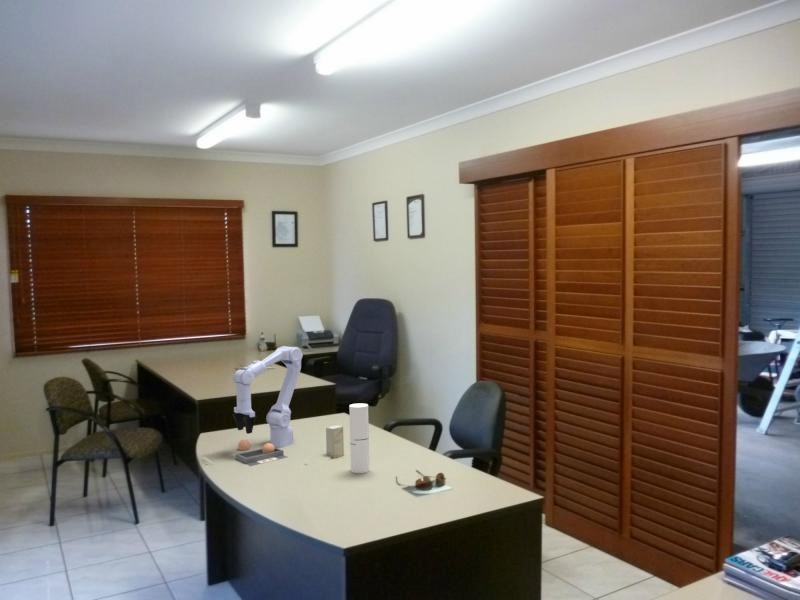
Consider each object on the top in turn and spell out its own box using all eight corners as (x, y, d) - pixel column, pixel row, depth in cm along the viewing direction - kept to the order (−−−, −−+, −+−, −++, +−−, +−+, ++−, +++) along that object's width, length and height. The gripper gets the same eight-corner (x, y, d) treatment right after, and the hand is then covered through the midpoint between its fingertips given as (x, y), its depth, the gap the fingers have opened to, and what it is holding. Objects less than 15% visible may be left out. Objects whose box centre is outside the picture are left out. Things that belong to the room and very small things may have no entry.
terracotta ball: (246, 449, 275) (246, 437, 275) (252, 451, 272) (252, 439, 271) (236, 451, 272) (235, 439, 272) (241, 453, 268) (241, 442, 268)
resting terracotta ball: (271, 452, 266) (270, 440, 265) (277, 455, 262) (276, 443, 262) (260, 455, 262) (259, 443, 262) (266, 457, 259) (265, 445, 258)
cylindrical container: (366, 473, 239) (365, 407, 238) (348, 472, 241) (347, 407, 240) (371, 467, 246) (370, 403, 245) (353, 466, 248) (352, 403, 247)
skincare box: (334, 458, 259) (333, 429, 258) (326, 457, 262) (325, 427, 261) (344, 455, 264) (343, 425, 263) (336, 453, 267) (335, 424, 266)
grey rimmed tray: (272, 452, 269) (272, 445, 269) (288, 459, 259) (288, 452, 259) (235, 461, 258) (234, 454, 258) (250, 468, 248) (250, 461, 248)
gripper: (226, 397, 266) (227, 430, 267) (243, 403, 255) (244, 436, 256) (242, 395, 271) (243, 427, 272) (259, 400, 260) (260, 433, 261)
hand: (244, 431), depth 264 cm, fingers open, 7 cm apart
